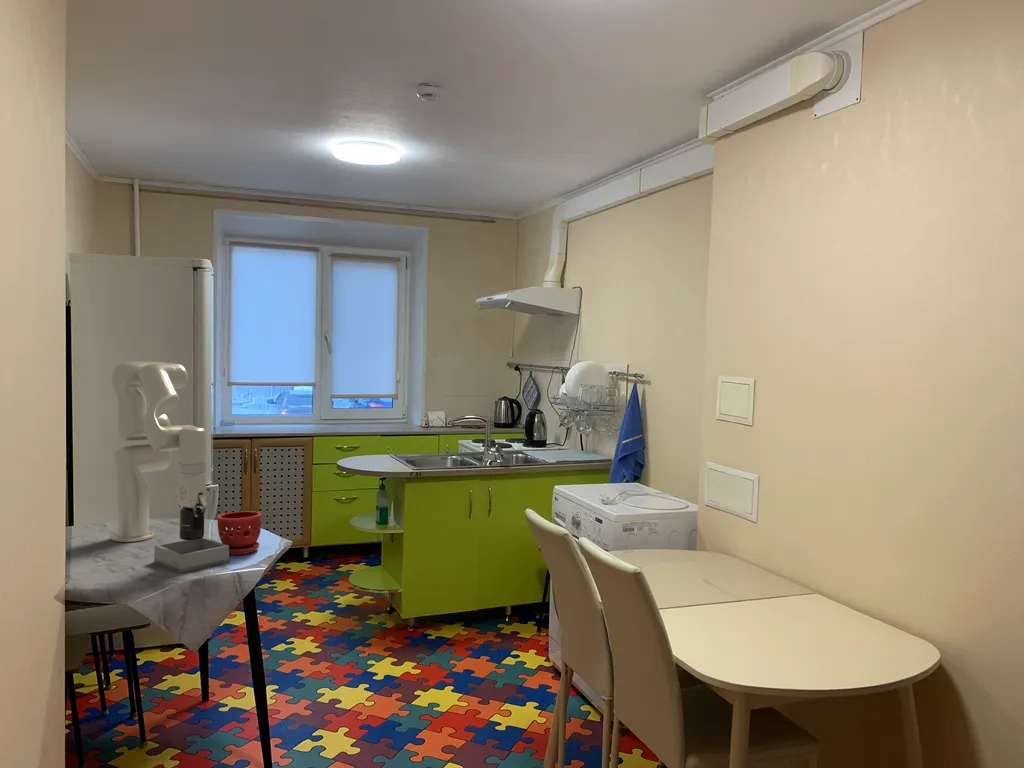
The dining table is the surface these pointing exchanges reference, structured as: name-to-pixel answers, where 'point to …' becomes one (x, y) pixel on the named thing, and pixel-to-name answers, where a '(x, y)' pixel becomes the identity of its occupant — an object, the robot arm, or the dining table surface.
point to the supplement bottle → (189, 525)
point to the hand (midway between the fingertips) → (192, 527)
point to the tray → (191, 554)
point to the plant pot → (240, 531)
